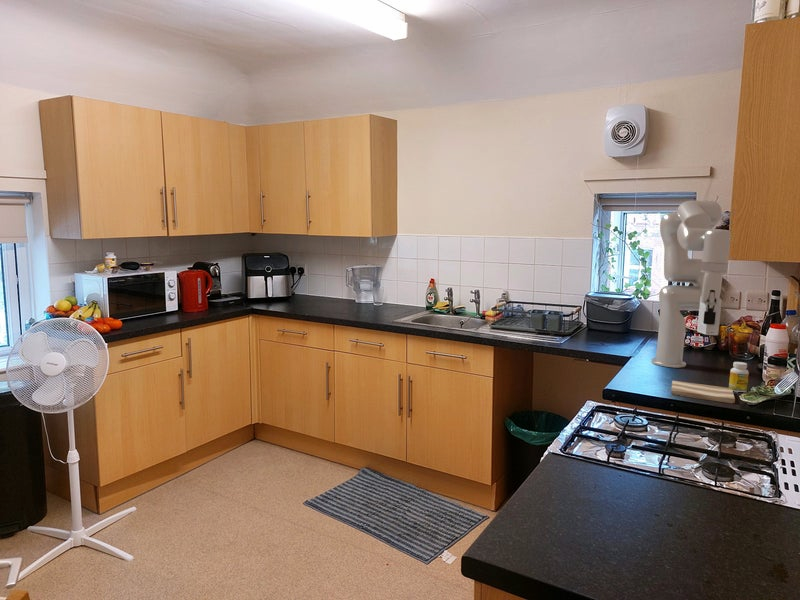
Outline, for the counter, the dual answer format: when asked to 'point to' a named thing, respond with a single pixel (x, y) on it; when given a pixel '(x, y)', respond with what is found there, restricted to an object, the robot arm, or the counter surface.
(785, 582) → the counter surface
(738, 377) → the supplement bottle
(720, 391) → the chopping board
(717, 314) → the skincare box
